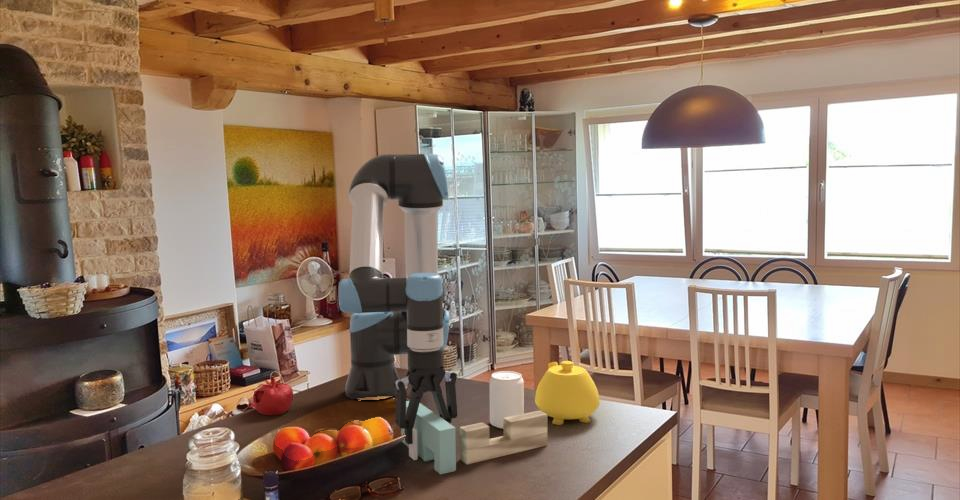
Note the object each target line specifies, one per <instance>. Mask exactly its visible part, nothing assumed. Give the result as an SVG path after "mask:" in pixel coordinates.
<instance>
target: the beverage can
mask: <svg viewBox="0 0 960 500" xmlns="http://www.w3.org/2000/svg"><path fill="white" fill-rule="evenodd" d="M524 383H525V380H524V378H523V376H522V373H520V372H516V371H512V370H500V371H494V372H493V373H491V377H490V378H489V383H488V384H489V424H491V426H493V427H495V428H498V429H503V418H506V417H510V416H515V415H520V414H525V409H524V408H525V393H524V392H525V390H524V389H525V384H524Z"/></svg>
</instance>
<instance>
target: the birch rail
mask: <svg viewBox="0 0 960 500" xmlns="http://www.w3.org/2000/svg"><path fill="white" fill-rule="evenodd" d="M547 446H548V416H547V414H546V413H544V412H542V411H541V410H540V409H539V410H535V411H530V412H526V413H525V412H524V414H520V415H515V416H510V417H506V418H503V435H501V436H495V437H493V438H492V437H491V438H490V426H489V425H488V424H486V423H484V422H477V423H473V424H468V425H462V426H459V460H460V461H462V462H463V463H464V464H465V465H472V464H475V463H479V462H483V461H484V462H485V461H488V460H491V459H496V458H499V457H504V456H508V455H512V454H518V453H521V452H526V451H530V450H533V449H538V448H541V447H547Z"/></svg>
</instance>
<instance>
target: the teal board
mask: <svg viewBox="0 0 960 500" xmlns="http://www.w3.org/2000/svg"><path fill="white" fill-rule="evenodd" d="M409 401H410V400H406V412H407V408H408V404H409ZM414 428H416V429H417V457H419V458H421V459H422V460H423V461H424V462H428V461H433V460H434V461H433V462H434V469H433V470H434V471H435V472H436V473H438V474H439V475H444V474H448V473H452V472H455V471H457V451H456V448H457V446H456V444H457V443H456V440H457V439H456V437H457V436H456V427H455V426H454V425H453V424H451V423H448V422H447V421H445V420H444V419H442V418H441V417H440V416H439V414H437V413H435V412H433V411H432V410H431V409H429V408H428V407H427V406H425V405H424V404H423V403H421V402H420V403H419V407H418V411H417V415H416V419H415V423H414ZM403 434H405V429H404V428H403V429H401V428H400V436H401V435H403ZM401 442H402V443H403V444H404V445H406V447H407V448H409V445H408V444H407V443H406V442H405V439H404V440H403V441H401Z"/></svg>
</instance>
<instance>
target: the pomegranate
mask: <svg viewBox="0 0 960 500" xmlns="http://www.w3.org/2000/svg"><path fill="white" fill-rule="evenodd" d="M275 377H276V376H275V375H272V376H270V378H269V379H270V381H268V380H263V382H265V383H260V384H259V385H258V386H256V387H257V389H256V391H255V392H254V393H253V395H252V402H253V406H254V408H255V410H256V411H257V412H258V413H259V414H261V415H266V416H276V415H281V414H285V413H286V412H287V411H288V410H289V409H290V408H291V407H292V405H293V401H294V397H295V396H294V390H293V388H292V386H290V385H289V384H288V383H283V382H281V381H285V382H286V381H287V379H283V378H280V379H278V380H277V381H276V378H275Z"/></svg>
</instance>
